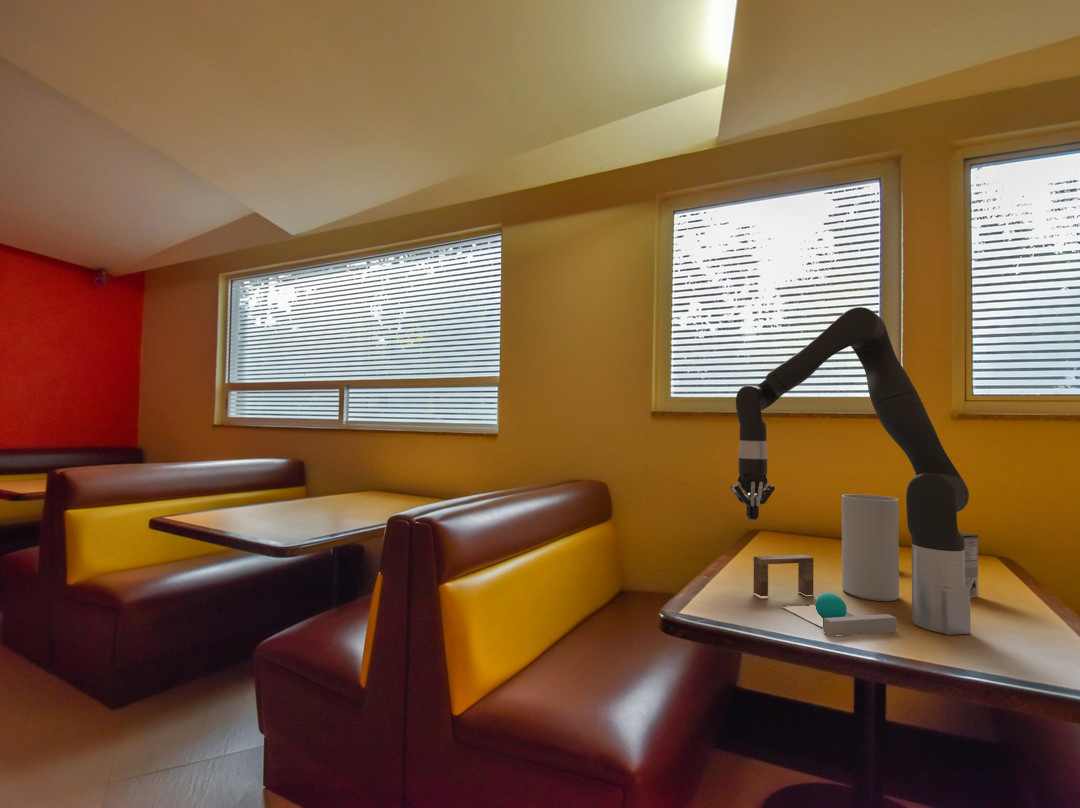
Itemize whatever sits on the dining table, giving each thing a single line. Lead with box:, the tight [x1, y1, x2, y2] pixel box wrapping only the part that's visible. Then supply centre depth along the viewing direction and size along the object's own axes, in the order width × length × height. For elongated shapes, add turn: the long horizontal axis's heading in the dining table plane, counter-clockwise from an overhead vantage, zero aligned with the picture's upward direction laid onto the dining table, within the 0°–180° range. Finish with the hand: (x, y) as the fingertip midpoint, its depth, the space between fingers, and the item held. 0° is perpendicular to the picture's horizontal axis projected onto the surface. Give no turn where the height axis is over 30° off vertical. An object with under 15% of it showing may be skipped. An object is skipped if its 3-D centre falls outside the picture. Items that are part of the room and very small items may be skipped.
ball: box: [815, 592, 848, 618], centre depth 116 cm, size 6×6×6 cm
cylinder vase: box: [841, 493, 900, 602], centre depth 136 cm, size 12×12×25 cm
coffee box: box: [959, 531, 979, 599], centre depth 139 cm, size 9×6×16 cm
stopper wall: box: [822, 613, 897, 637], centre depth 109 cm, size 2×16×3 cm, turn 102°
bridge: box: [753, 554, 814, 597], centre depth 133 cm, size 3×15×10 cm, turn 102°
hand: (752, 519), depth 146 cm, fingers closed
